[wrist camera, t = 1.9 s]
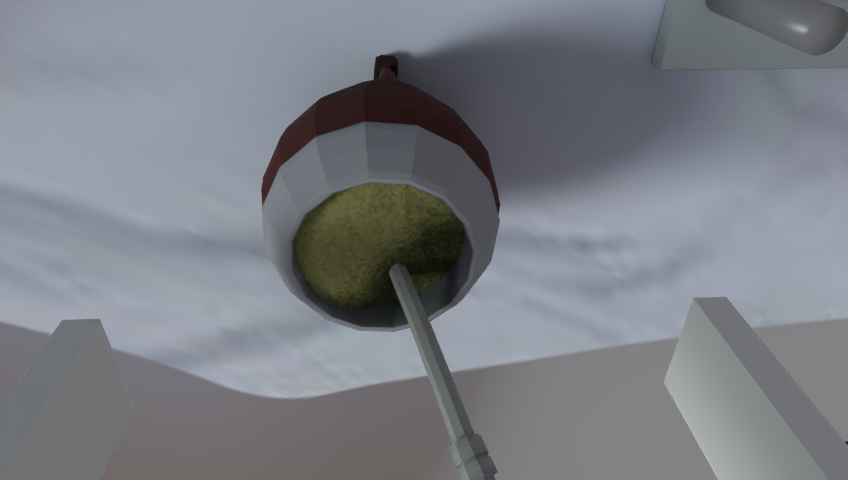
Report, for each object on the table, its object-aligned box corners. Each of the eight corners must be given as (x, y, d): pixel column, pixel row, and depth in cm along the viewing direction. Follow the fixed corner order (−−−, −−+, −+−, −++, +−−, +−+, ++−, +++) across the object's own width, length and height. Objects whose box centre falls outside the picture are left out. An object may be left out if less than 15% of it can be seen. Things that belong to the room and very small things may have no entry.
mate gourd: (284, 34, 19) (104, 364, 6) (510, 55, 20) (735, 378, 7) (290, 220, 23) (187, 639, 11) (476, 230, 24) (584, 626, 11)
